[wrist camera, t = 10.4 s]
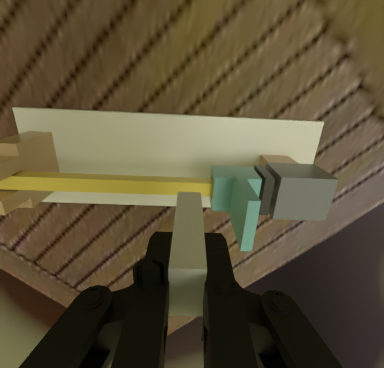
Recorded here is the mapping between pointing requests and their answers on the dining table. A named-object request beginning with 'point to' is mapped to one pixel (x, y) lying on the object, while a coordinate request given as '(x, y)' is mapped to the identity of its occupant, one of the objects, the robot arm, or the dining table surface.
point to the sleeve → (237, 200)
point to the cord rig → (159, 159)
